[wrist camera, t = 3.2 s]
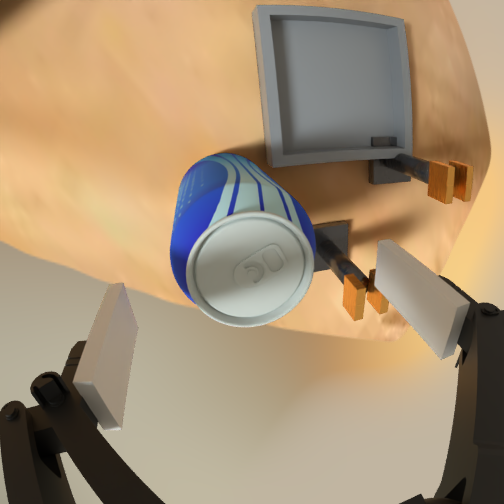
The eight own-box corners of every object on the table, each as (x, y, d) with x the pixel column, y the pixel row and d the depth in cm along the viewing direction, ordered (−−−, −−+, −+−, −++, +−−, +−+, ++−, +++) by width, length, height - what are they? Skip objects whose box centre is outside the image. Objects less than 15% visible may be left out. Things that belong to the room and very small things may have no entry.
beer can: (258, 239, 33) (309, 340, 19) (174, 232, 31) (165, 337, 17) (272, 157, 30) (348, 205, 16) (183, 146, 28) (174, 183, 14)
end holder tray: (266, 163, 30) (273, 167, 28) (251, 12, 24) (256, 5, 21) (399, 153, 32) (412, 157, 30) (390, 23, 25) (403, 19, 23)
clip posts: (301, 269, 36) (343, 332, 25) (295, 140, 30) (349, 157, 19) (400, 250, 37) (458, 298, 27) (406, 135, 31) (480, 154, 21)
